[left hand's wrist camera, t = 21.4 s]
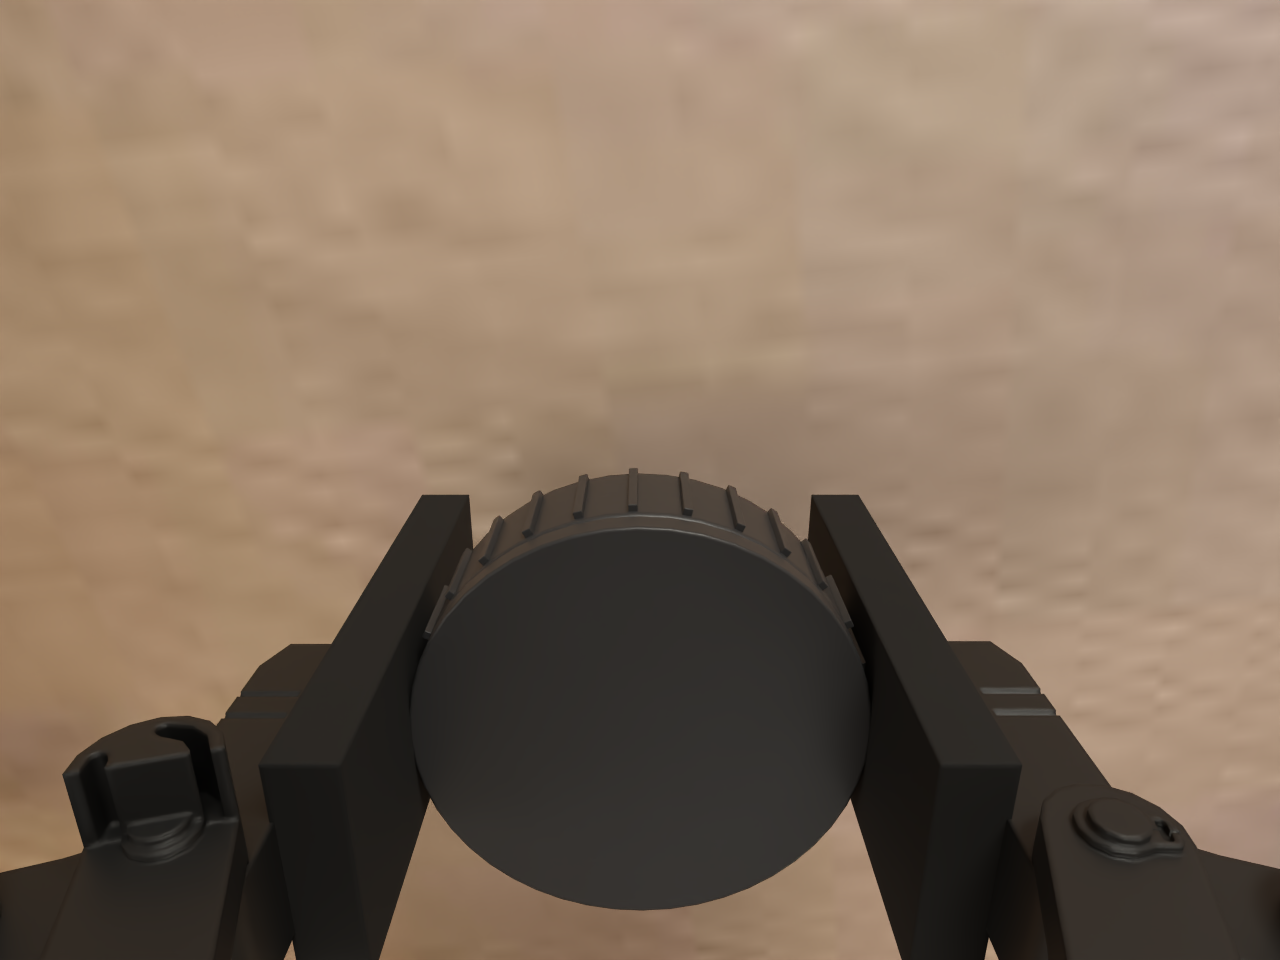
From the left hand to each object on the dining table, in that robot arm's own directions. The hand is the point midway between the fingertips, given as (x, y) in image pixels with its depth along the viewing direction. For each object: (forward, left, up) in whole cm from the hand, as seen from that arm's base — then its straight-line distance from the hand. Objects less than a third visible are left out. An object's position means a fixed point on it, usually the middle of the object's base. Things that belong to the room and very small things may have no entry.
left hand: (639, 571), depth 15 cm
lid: (0, 0, +4) cm, 4 cm away
